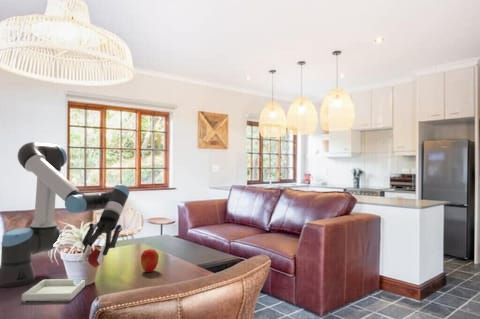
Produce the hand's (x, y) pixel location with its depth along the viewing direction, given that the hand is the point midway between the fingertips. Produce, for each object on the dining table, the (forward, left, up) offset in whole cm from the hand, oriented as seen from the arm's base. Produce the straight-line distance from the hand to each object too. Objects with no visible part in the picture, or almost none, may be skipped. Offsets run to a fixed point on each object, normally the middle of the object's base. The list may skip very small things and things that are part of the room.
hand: (91, 261), depth 130 cm
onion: (+1, +4, -4) cm, 5 cm away
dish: (-17, +12, -16) cm, 26 cm away
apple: (+17, +41, -16) cm, 47 cm away
